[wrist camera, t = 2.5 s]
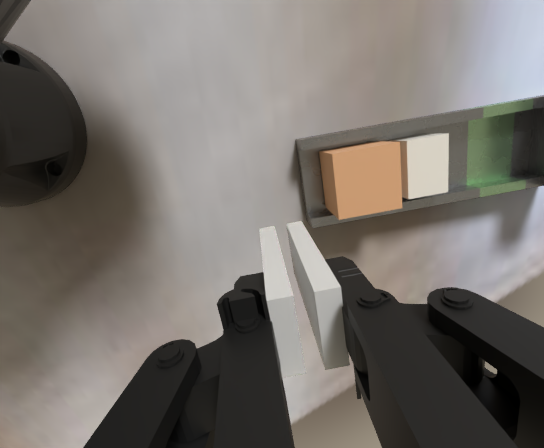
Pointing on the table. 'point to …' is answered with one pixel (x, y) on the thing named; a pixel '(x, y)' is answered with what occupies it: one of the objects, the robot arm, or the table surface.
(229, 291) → the robot arm
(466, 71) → the table surface
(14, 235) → the table surface
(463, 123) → the base
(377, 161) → the tan cardboard-like brick
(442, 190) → the cream white block
